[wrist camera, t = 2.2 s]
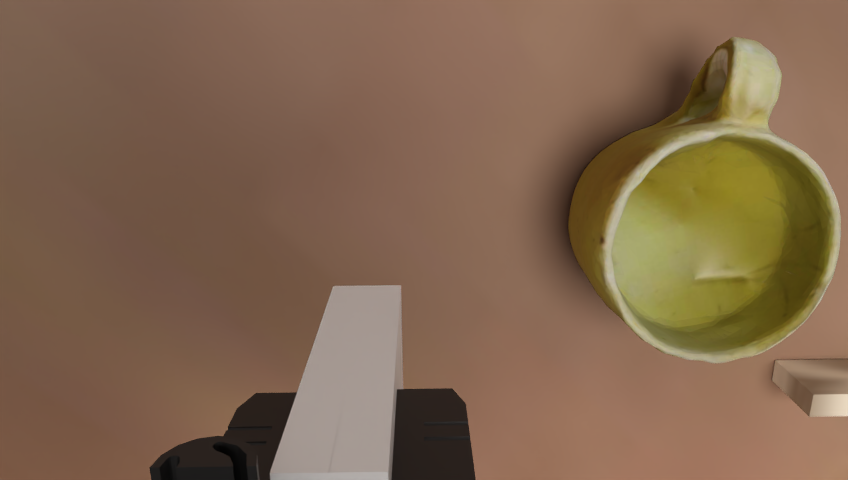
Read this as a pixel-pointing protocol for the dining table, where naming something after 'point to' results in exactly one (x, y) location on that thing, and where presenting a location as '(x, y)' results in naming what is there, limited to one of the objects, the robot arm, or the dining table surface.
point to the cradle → (815, 385)
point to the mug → (710, 219)
